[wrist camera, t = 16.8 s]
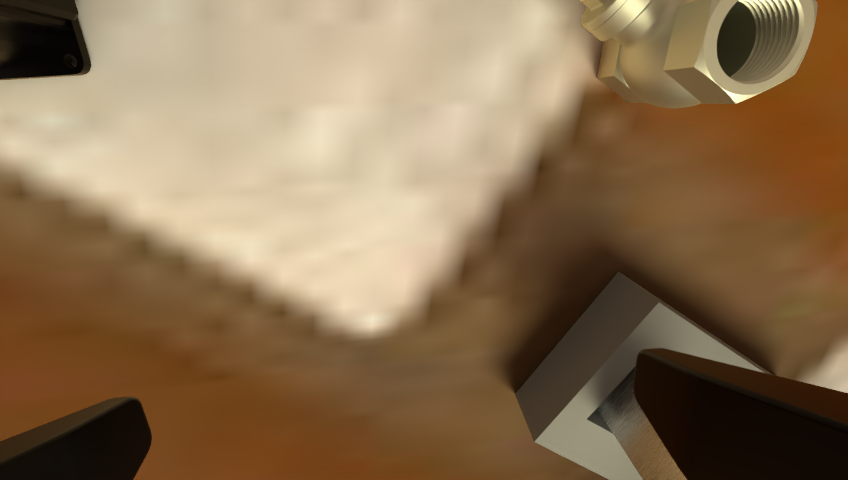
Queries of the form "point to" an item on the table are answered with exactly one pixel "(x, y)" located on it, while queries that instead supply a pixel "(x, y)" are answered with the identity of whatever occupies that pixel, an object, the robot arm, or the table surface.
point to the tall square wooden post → (637, 434)
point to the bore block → (607, 372)
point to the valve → (698, 47)
